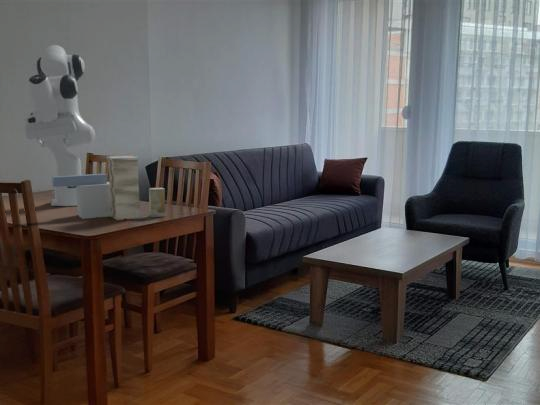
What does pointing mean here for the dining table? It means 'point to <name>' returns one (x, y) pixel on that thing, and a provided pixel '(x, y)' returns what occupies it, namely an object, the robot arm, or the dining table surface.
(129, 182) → the pedestal
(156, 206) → the skincare box
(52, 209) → the dining table surface
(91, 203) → the low block
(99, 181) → the bar
